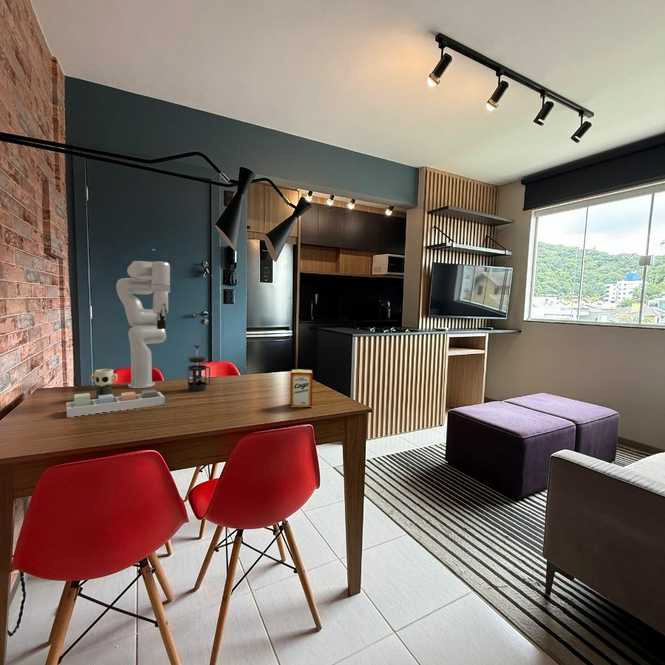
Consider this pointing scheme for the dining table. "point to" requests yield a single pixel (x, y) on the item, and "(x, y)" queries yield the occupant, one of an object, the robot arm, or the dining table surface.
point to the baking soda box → (301, 387)
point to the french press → (198, 385)
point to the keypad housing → (113, 405)
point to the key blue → (105, 399)
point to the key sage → (81, 399)
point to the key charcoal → (149, 393)
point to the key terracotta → (128, 396)
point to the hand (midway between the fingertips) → (161, 328)
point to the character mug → (103, 381)
